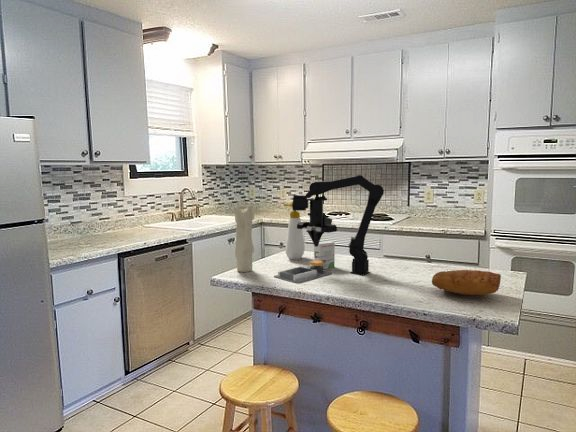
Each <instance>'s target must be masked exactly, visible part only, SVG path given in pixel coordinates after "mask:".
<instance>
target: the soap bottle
mask: <svg viewBox="0 0 576 432" xmlns="http://www.w3.org/2000/svg"><path fill="white" fill-rule="evenodd" d="M292 203H293V201H291V202H289V203H283V206H284V207H289V208H292ZM300 216H301V215H300V211H293V210H292V211H291V212H290V213H289V219H288V226H287V227H288V228H287V233H286V242H285V254H286V257H287V258H288V259H289V260H290V261H298V260H300V259H301V258H302V257H303V255H304V254H305V247H306V246H305V239H304V235H303V233H304V232H303V228H302V229H297V224H298V222H302V220H301V219H302V218H301V217H300Z"/></svg>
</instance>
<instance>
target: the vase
mask: <svg viewBox="0 0 576 432" xmlns="http://www.w3.org/2000/svg"><path fill="white" fill-rule="evenodd" d="M233 207H234V209H235V216H234V220H235V223H236V230H235V251H234V257H235V258H236V269H237V270H236V271H237V272H240V273H246V272H252V271H253V253H254V252H255V248H254V245H253V244H254V243H253V239H252V234H253V233H252V232H253V221H254V219H255V213H254V211H253V204H251V203H250V204H249V205H234V206H233Z"/></svg>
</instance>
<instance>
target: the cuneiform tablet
mask: <svg viewBox="0 0 576 432" xmlns="http://www.w3.org/2000/svg"><path fill="white" fill-rule="evenodd" d="M501 278H502V276H501V273H497V272H496V273H495V272H492V271H487V270H486V271H483V270H475V269H474V270H471V269H469V270H468V269H457V270H456V269H455V270H447V271H445V270H443V271H439V272H436V273H435V274H434V275H433V276H432V279H431V284H432V285H433V287H436V288H438V289H440V290H442V291H445V292H446V291H447V292H451V293H454V294H458V295H459V294H460V295H466V296H467V295H469V296H478V295H484V296H485V295H490V294H494V293H496V292H498V290H499V288H500V284H501V280H502V279H501Z"/></svg>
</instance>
